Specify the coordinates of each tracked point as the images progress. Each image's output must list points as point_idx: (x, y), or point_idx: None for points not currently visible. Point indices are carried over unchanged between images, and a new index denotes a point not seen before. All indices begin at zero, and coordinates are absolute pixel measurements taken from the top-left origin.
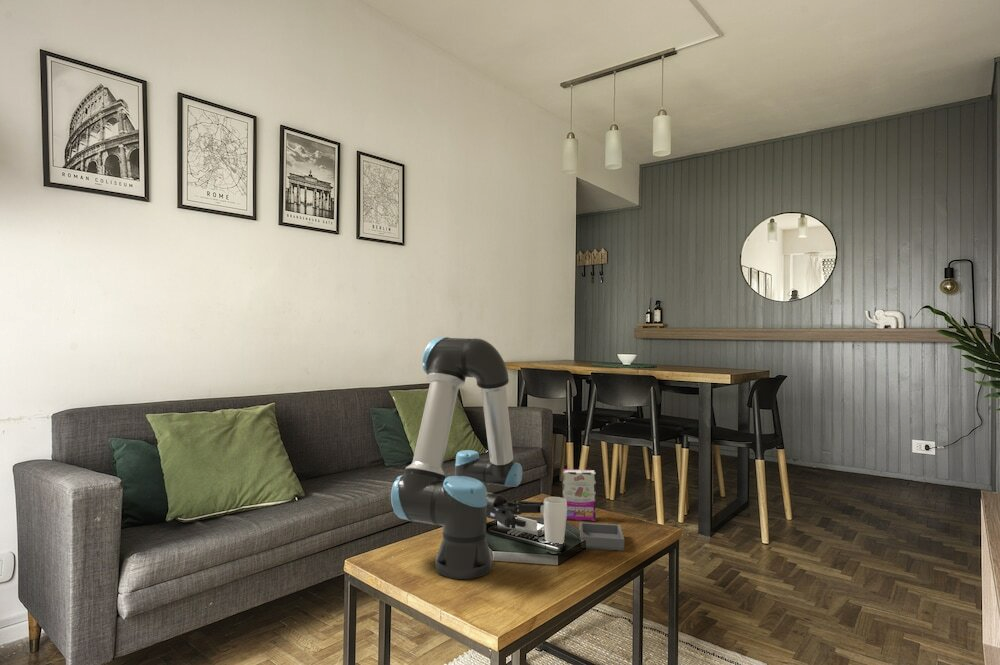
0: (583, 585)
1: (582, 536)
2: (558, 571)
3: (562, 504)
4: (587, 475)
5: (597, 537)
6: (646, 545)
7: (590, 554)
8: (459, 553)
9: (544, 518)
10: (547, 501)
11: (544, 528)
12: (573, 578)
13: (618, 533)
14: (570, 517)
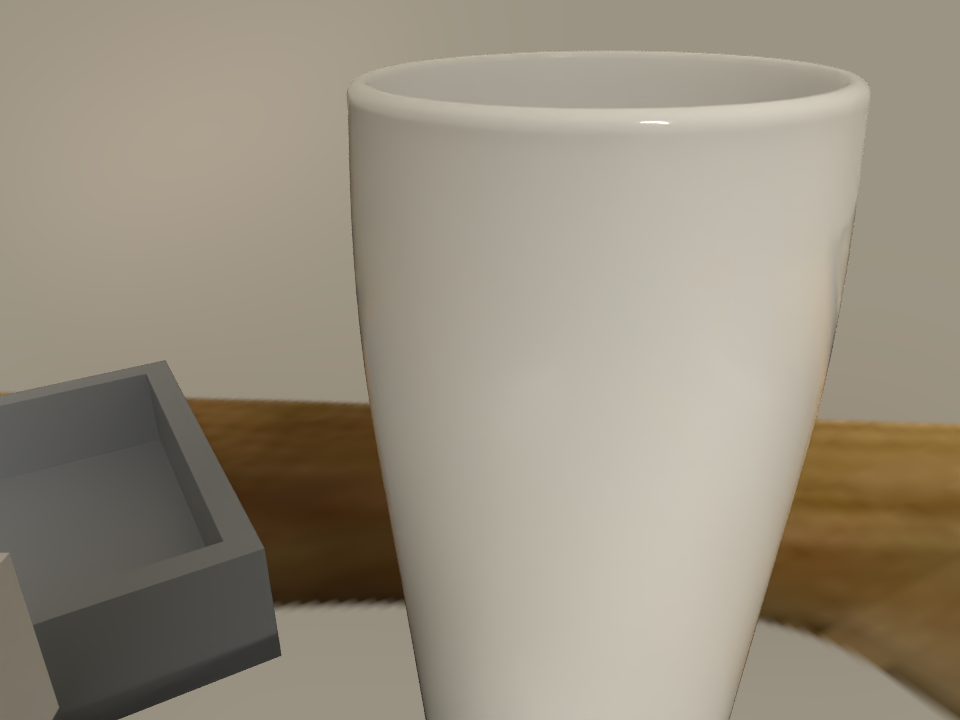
0: (887, 422)
1: (249, 541)
2: (914, 577)
3: (649, 76)
4: None
5: (213, 458)
6: None
7: (379, 552)
8: None
9: (795, 481)
10: (577, 221)
11: (727, 670)
12: (880, 478)
13: None
14: None
